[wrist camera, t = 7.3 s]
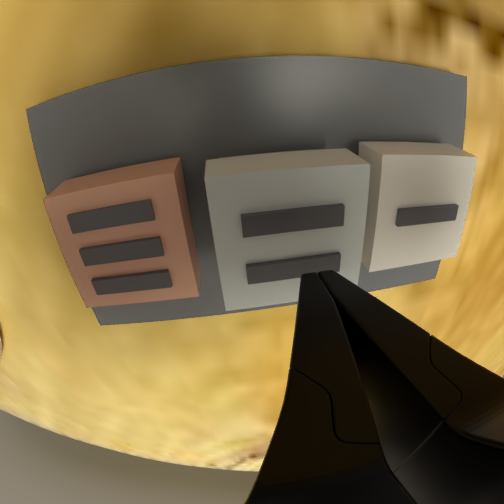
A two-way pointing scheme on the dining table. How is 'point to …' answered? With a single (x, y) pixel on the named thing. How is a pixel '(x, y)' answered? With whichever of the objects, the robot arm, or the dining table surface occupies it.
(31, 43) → the dining table surface
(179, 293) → the slotted block
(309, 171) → the tile
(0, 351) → the planter
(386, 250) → the tile
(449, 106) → the board
